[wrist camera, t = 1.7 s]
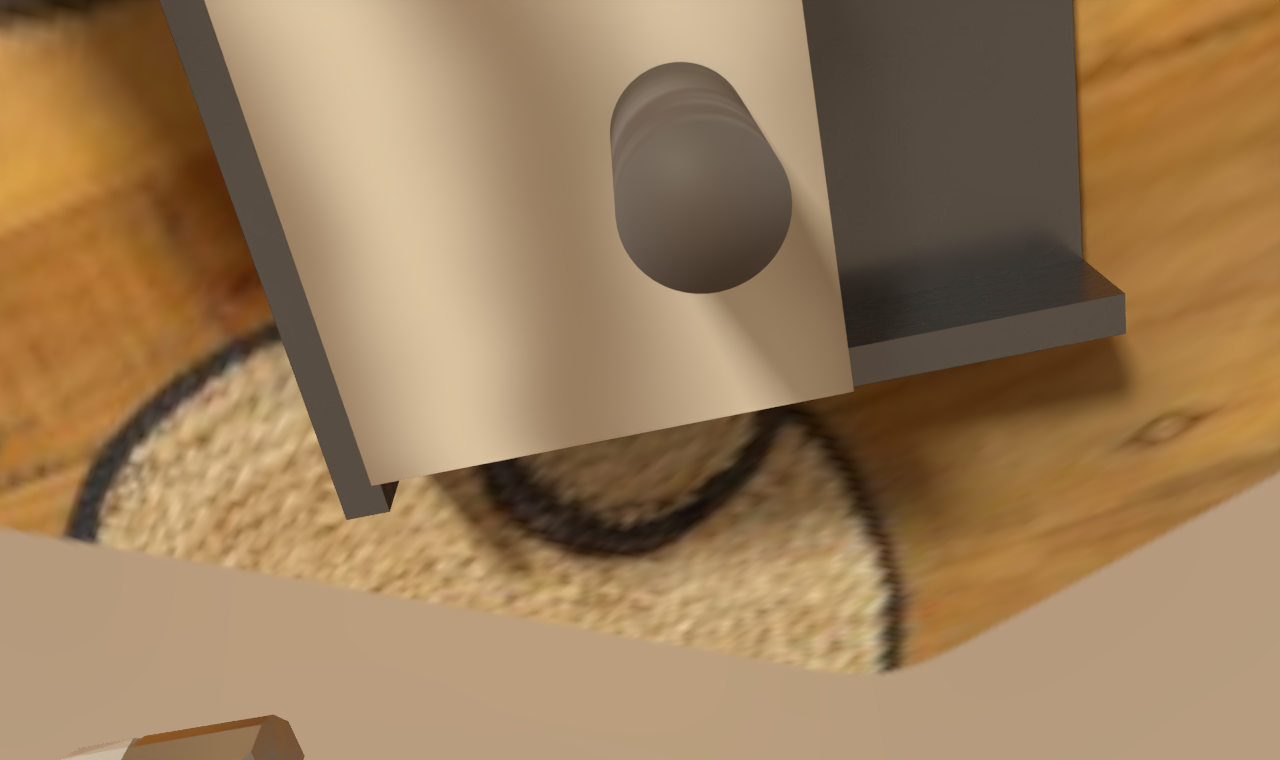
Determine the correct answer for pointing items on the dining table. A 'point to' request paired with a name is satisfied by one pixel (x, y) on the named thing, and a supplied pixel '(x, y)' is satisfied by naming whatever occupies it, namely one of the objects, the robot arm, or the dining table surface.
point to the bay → (857, 192)
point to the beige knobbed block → (545, 214)
